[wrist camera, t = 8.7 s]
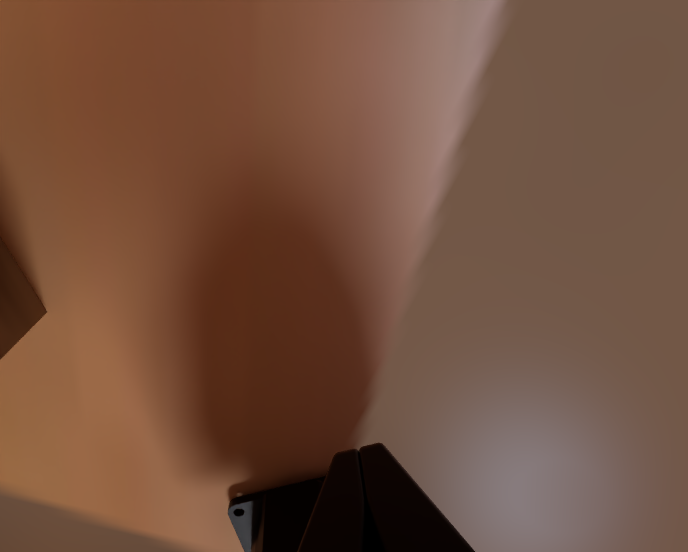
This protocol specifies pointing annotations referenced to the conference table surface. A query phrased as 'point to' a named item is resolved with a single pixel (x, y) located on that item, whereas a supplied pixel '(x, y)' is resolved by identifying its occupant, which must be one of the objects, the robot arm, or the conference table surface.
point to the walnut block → (15, 302)
